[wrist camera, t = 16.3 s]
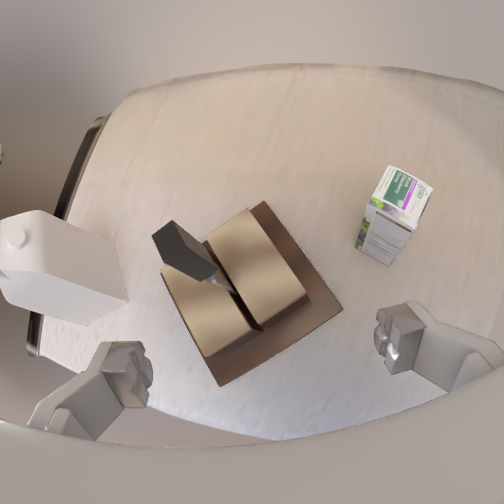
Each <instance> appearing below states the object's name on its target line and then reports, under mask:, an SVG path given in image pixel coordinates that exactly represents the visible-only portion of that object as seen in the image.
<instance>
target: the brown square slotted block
mask: <svg viewBox="0 0 504 504" xmlns="http://www.w3.org/2000/svg"><path fill="white" fill-rule="evenodd" d="M206 239H207V240H206V241H205V242H203V243H202V245H203V246H204V247H205V248H206V249H207V251H208V252H209V254H210V256H211V258H212V259H213V261H214V262H215V263H216V264H217V265H219V266H220V267H221V268H222V269H223V270H224V272H225V274H226V275H227V277H228V279H229V280H230V282H231V284H232V285H233V287H234V289H235V290H236V292H237V294H238V295H236V296H234V295H233V294H231V293H229V292H227V291H225V290H224V289H222V288H220V287H218V286H216V285H215V284H214V283H213V282H212V281H211V282H209V283H208V282H206V281H205V279H204V280H203V281H201V282H199V281H197V280H195V279H193V278H191V277H190V276H188V275H186V274H184V273H182V272H180V271H178V270H177V269H175V268H173V267H171V266H169V265H166V266H164V267H163V268H161V269H160V270H161V272H162V273H160V274H161V276H162V278H163V280H164V282H165V285H166V287H167V289H168V291H169V293H170V295H171V297H172V299H173V301H174V303H175V305H176V307H177V309H178V311H179V313H180V315H181V317H182V319H183V321H184V323H185V325H186V327H187V329H188V331H189V333H190V335H191V336H192V338H193V340H194V342H195V344H196V346H197V348H198V350H199V351H200V353H201V355H202V357H203V359H204V360H205V362H206V364H207V366H208V368H209V369H210V371H211V373H212V375H213V376H214V378H215V380H216V382H217V383H218V385H219V387H221V386H223V385H225V384H227V383H229V382H231V381H232V380H234V379H236V378H238V377H239V376H241V375H243V374H245V373H246V372H248V371H250V370H251V369H253V368H255V367H257V366H258V365H260V364H262V363H263V362H265V361H266V360H268V359H270V358H271V357H273V356H275V355H276V354H278V353H279V352H281V351H283V350H284V349H286V348H287V347H289V346H290V345H292V344H294V343H295V342H297V341H298V340H300V339H301V338H303V337H304V336H306V335H307V334H309V333H310V332H312V331H313V330H315V329H316V328H318V327H319V326H321V325H322V324H323V323H325V322H326V321H328V320H329V319H331V318H332V317H334V316H335V315H336V314H338V313H339V312H341V311H342V310H343V308H342V307H341V305H340V304H339V302H338V301H337V299H336V298H335V297H334V295H333V294H332V292H331V291H330V289H329V288H328V287H327V285H326V284H325V282H324V281H323V280H322V278H321V277H320V275H319V274H318V273H317V271H316V270H315V268H314V267H313V266H312V264H311V263H310V262H309V260H308V259H307V257H306V256H305V255H304V253H303V252H302V251H301V249H300V248H299V247H298V245H297V244H296V242H295V241H294V240H293V238H292V237H291V236H290V234H289V233H288V232H287V230H286V229H285V228H284V226H283V225H282V224H281V222H280V221H279V220H278V218H277V217H276V216H275V214H274V213H273V212H272V210H271V209H270V208H269V206H268V205H267V204H266V203H265V201H263V202H261V203H260V204H258V205H257V206H256V207H254V208H253V209H251V210H250V211H249V209H248V208H246V209H245V210H243V211H242V212H240V213H239V214H238V215H236V216H235V217H233V218H232V219H230V220H229V221H227V222H226V223H224V224H223V225H222V226H220V227H219V228H217V229H216V230H214V231H213V232H212V233H210V234H209V235H207V236H206ZM199 243H200V242H199Z"/></svg>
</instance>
